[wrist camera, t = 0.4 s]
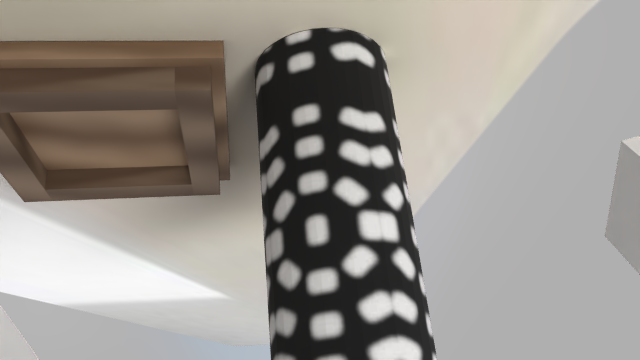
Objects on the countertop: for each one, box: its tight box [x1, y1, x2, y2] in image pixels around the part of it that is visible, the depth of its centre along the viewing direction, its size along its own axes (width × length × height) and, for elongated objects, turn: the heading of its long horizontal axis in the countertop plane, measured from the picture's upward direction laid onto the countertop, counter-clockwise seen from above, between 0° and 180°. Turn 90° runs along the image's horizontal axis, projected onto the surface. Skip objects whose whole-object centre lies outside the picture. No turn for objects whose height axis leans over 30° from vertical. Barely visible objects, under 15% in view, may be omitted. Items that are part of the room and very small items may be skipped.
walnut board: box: [0, 41, 230, 202], centre depth 40 cm, size 16×16×3 cm
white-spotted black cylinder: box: [255, 28, 437, 360], centre depth 34 cm, size 8×8×20 cm
